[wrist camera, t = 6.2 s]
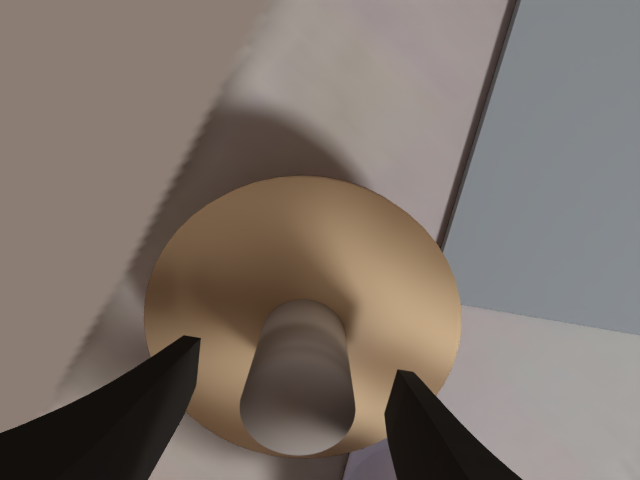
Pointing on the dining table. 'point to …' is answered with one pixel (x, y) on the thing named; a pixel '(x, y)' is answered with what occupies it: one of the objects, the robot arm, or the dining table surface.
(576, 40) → the mat
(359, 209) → the lid
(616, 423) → the dining table surface
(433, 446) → the robot arm
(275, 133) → the dining table surface
